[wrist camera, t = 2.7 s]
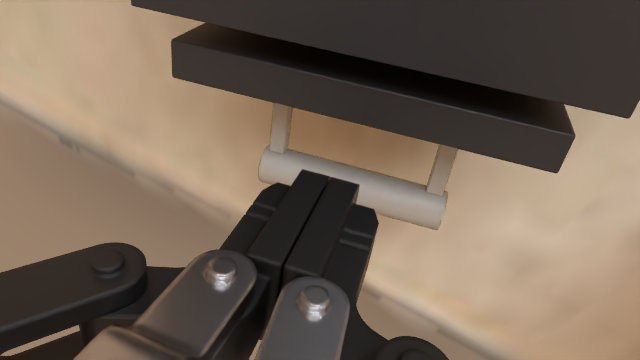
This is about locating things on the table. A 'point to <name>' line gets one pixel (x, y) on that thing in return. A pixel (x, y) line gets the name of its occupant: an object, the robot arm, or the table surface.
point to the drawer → (373, 113)
